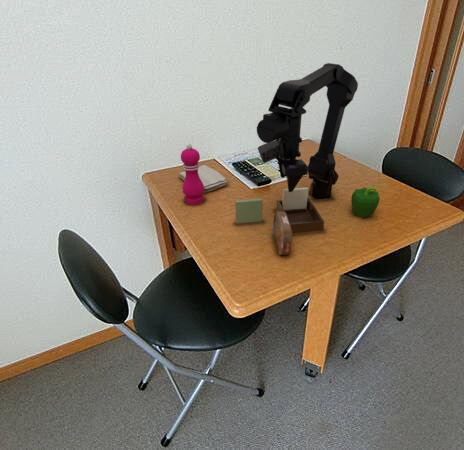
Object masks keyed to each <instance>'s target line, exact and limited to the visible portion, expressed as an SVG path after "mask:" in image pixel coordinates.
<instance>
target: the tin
mask: <svg viewBox="0 0 464 450" xmlns="http://www.w3.org/2000/svg"><path fill="white" fill-rule="evenodd" d="M272 229H273V234H274V236H275V240H276V243H277V249H278V255H280V256H281V255H290V254H291V249H292V244H293V234H292V229H291V226H290V223H289V220H288V217H287V214H286V212H284V211H277V210H276V211H275V212H274V216H273V228H272Z"/></svg>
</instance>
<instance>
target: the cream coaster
mask: <svg viewBox="0 0 464 450" xmlns="http://www.w3.org/2000/svg"><path fill="white" fill-rule="evenodd" d="M309 191H310V188H309V187H307V186H306V187H295V188H294V190H293V191H292V192H289V191H288V188H285V189H284V188H283V189H282V199H281V200H282V208H283V210H291V209H302V208H307V199H308V198H309Z"/></svg>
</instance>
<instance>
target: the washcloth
mask: <svg viewBox="0 0 464 450" xmlns="http://www.w3.org/2000/svg"><path fill="white" fill-rule="evenodd" d="M198 175H199V177H200V179H201V181H202V183H203V185H204V192H203V193H202V194H203V195H204V194H207V193H209V192H212V191H215V190H219V189H220V188H223V187H226V186H228V184H229V183H228V181H227V178H226V177H225V176H224V175H223V174H221V172H218V171H217V170H215V169H214V168H212V167H210V166H208V165H199V168H198ZM185 176H186V172H185V170H184V171H182V172H179V173H178V177H179V178H180V179H182V181H183V182H184V181H185Z"/></svg>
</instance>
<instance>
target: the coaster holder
mask: <svg viewBox="0 0 464 450" xmlns="http://www.w3.org/2000/svg"><path fill="white" fill-rule="evenodd" d="M275 205H276V207H275V209H276V211H284V212H286V214H287V217H288V220H289V223H290V226H291V229H292V235H293V234H301V233H302V234H303V233H313V232H322V231H324V226H325V220H324V218H323V217H322V215H321V214H320V213H319V211H318V210H317V208H316V206H315V205H314V204H313V202H312V200H311V199H310V198H309V197H308V199H307V208H302V209H291V210H283V208H282V199H279V200H277V199H276V204H275Z"/></svg>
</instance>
